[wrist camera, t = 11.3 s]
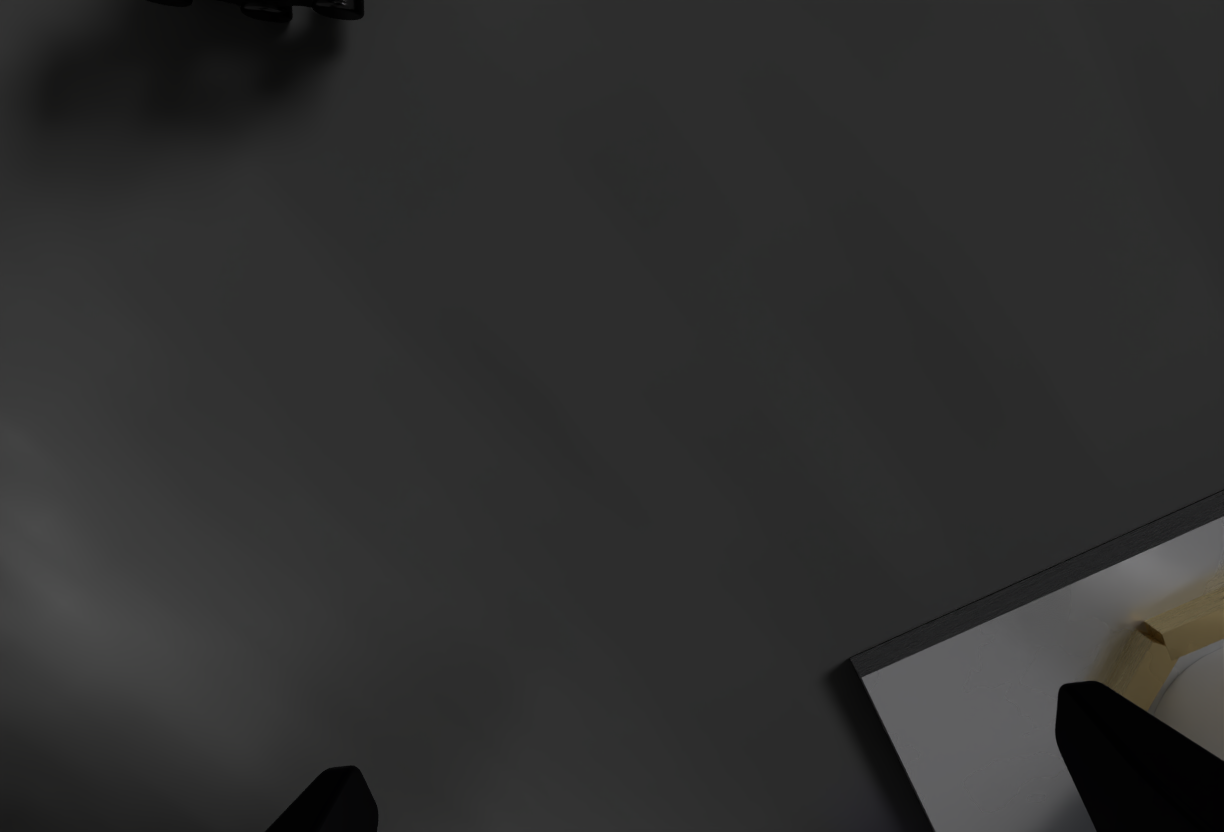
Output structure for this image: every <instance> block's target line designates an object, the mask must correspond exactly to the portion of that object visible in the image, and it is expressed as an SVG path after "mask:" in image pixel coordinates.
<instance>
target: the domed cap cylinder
mask: <svg viewBox="0 0 1224 832" xmlns="http://www.w3.org/2000/svg"><path fill="white" fill-rule="evenodd" d="M1154 716H1155V717H1156V718H1158V719H1159V720H1161V721H1162V722H1164V723H1166V724H1167V725H1169V726H1170V727H1172V728H1173V729H1175V730H1176V731H1178V732H1180V733H1181V734H1183V735H1184V736H1186V737H1187V738H1189V739H1191V740H1192V741H1194V742H1195V743H1197V744H1198V745H1200V746H1201V747H1203V748H1205V749H1206V750H1208V751H1209V752H1211V753H1212V754H1214V755H1216V756H1217V757H1219V758H1220V759H1222V760H1223V761H1224V648H1221V649H1218V650H1216V651H1214V652H1212V653H1210V654H1208V655H1206V656H1204V657H1203V658H1201V659H1200V660H1198V661H1196V662H1195V663H1194V664H1192V665H1191V666H1190V667H1188V668H1187V669H1186V670H1185V671H1183V672H1182V673H1181V674H1180V675H1179V676H1178V677H1177V678H1176V679H1175V680H1174V682H1173V683H1172V684H1171V685H1170V686H1169V687H1168V689H1167V690H1166V692H1165V693H1164V695H1163V696H1162V698H1161V700H1160V702H1159V704H1158V706H1157V708H1156V710H1155V713H1154Z"/></svg>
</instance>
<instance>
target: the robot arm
mask: <svg viewBox="0 0 1224 832" xmlns="http://www.w3.org/2000/svg"><path fill="white" fill-rule="evenodd" d="M1055 737H1056V742H1057V746H1058V749H1059V751H1060V754H1061V756H1062V758H1063V760H1064V762H1065V765H1066V767H1067V769H1068V771H1069V773H1070V775H1071V778H1072V780H1073V782H1074V784H1075V786H1076V788H1077V791H1078V793H1079V795H1080V797H1081V799H1082V801H1083V804H1084V806H1085V808H1086V810H1087V812H1088V814H1089V817H1090V819H1091V821H1092V823H1093V825H1094V827H1095V830H1096V832H1224V761H1223V760H1222V759H1220V758H1219V757H1217V756H1216V755H1214V754H1212V753H1211V752H1209V751H1208V750H1206V749H1205V748H1203V747H1201V746H1200V745H1198V744H1197V743H1195V742H1194V741H1192V740H1191V739H1189V738H1187V737H1186V736H1184V735H1183V734H1181V733H1180V732H1178V731H1176V730H1175V729H1173V728H1172V727H1170V726H1169V725H1167V724H1166V723H1164V722H1162V721H1161V720H1159V719H1158V718H1156V717H1155V716H1153V715H1152V714H1150V713H1148V712H1147V711H1145V710H1144V709H1142V708H1141V707H1139V706H1137V705H1136V704H1134V703H1133V702H1131V701H1130V700H1128V699H1127V698H1125V697H1123V696H1122V695H1120V694H1119V693H1117V692H1116V691H1114V690H1112V689H1111V688H1109V687H1108V686H1106V685H1104V684H1103V683H1100V682H1098V681H1082V682H1073V683H1066V684H1063V685H1062V686H1061V687H1060V688H1059V691H1058V699H1057V711H1056V723H1055ZM377 827H378V809H377V805H376V802H375V800H374V798H373V796H372V794H371V792H370V790H369V788H368V786H367V783H366V781H365V779H364V777H363V775H362V773H361V771H360V770H359V769H358V768H357V767H355V766H342V767H333V768H329V769H326V770H325V771H323V772H322V773H321V774H320V775H319V776H318V777H317V778H316V779H315V780H314V781H313V782H312V783H311V784H310V785H309V786H308V787H307V788H306V789H305V790H304V791H303V792H302V793H301V794H300V795H299V797H298V798H297V799H296V800H295V801H294V802H293V803H292V804H291V805H290V806H289V807H288V808H287V809H286V810H285V811H284V812H283V813H282V814H281V815H280V816H279V817H278V819H277V820H276V821H275V822H274V823H273V824H272V825H271V826H270V827H269V828H268V829H267V830H266V831H265V832H377Z"/></svg>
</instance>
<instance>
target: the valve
mask: <svg viewBox="0 0 1224 832" xmlns="http://www.w3.org/2000/svg"><path fill="white" fill-rule="evenodd" d="M147 1H150V2H153V3H157V4H162V5H168V6H176V7H186V6H190V5H191V4H192V2H193V0H147ZM218 1H224V2H229V3H233V4H236V5H239V6H240V9H241V11H242V13H243V14H245V15H246V16H249V17H251V18H254V19H258V20H262V21H268V22H279V23H284V22H289V21H291V20H292V18H293V14H292V6H306V7H312V9H313V10H314V11H315V12H317V13H318V14H320V15H323V16H326V17H330V18H335V19H341V20H358V19H361V18H362V17H363V16H364V0H218Z"/></svg>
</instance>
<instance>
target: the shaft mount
mask: <svg viewBox="0 0 1224 832" xmlns="http://www.w3.org/2000/svg"><path fill="white" fill-rule="evenodd" d="M1221 648H1224V491H1221V492H1219V493H1217V494H1215V495H1213V496H1210V497H1208V498H1206V499H1204V500H1201V501H1199V502H1197V503H1195V504H1192V505H1190V506H1188V507H1186V508H1184V509H1181V510H1179V511H1177V512H1175V513H1172V514H1170V515H1168V516H1166V517H1164V518H1161V519H1159V520H1157V521H1155V522H1152V523H1150V524H1148V525H1146V526H1143V527H1141V528H1139V529H1137V530H1135V531H1132V532H1130V533H1128V534H1126V535H1123V536H1121V537H1119V538H1117V539H1115V540H1112V541H1110V542H1108V543H1106V544H1103V545H1101V546H1099V547H1097V548H1094V549H1092V550H1090V551H1088V552H1086V553H1083V554H1081V555H1079V556H1077V557H1074V558H1072V559H1070V560H1068V561H1066V562H1063V563H1061V564H1059V565H1057V566H1054V567H1052V568H1050V569H1048V570H1045V571H1043V572H1041V573H1039V574H1037V575H1034V576H1032V577H1030V578H1028V579H1025V580H1023V581H1021V582H1019V583H1017V584H1014V585H1012V586H1010V587H1008V588H1005V589H1003V590H1001V591H999V592H997V593H994V594H992V595H990V596H988V597H985V598H983V599H981V600H979V601H976V602H974V603H972V604H970V605H968V606H965V607H963V608H961V609H959V610H956V611H954V612H952V613H950V614H948V615H945V616H943V617H941V618H939V619H936V620H934V621H932V622H930V623H927V624H925V625H923V626H921V627H919V628H916V629H914V630H912V631H910V632H907V633H905V634H903V635H901V636H899V637H896V638H894V639H892V640H890V641H887V642H885V643H883V644H881V645H878V646H876V647H874V648H872V649H870V650H867V651H865V652H863V653H861V654H858V655H856V656H854V657H852V658H850V659H851V662H852V664H853V666H854V668H855V670H856V672H857V674H858V676H859V678H860V680H861V682H862V684H863V686H864V688H865V691H866V693H867V695H868V697H869V699H870V701H871V703H872V705H873V707H874V709H875V711H876V713H877V715H878V717H879V720H880V722H881V724H882V726H883V728H884V730H885V732H886V734H887V736H888V738H889V740H890V742H891V744H892V747H893V749H894V751H895V753H896V755H897V757H898V759H899V761H900V763H901V765H902V767H903V769H904V771H905V773H906V776H907V778H908V780H909V782H910V784H911V786H912V788H913V790H914V792H915V794H916V796H917V798H918V800H919V802H920V805H921V807H922V809H923V811H924V813H925V815H926V817H927V819H928V821H929V823H930V825H931V827H932V829H933V832H1096V830H1095V827H1094V825H1093V823H1092V821H1091V819H1090V817H1089V814H1088V812H1087V810H1086V808H1085V806H1084V804H1083V801H1082V799H1081V797H1080V795H1079V793H1078V791H1077V788H1076V786H1075V784H1074V782H1073V780H1072V778H1071V775H1070V773H1069V771H1068V769H1067V767H1066V765H1065V762H1064V760H1063V758H1062V756H1061V754H1060V751H1059V749H1058V746H1057V742H1056V737H1055V723H1056V711H1057V699H1058V691H1059V688H1060V687H1061V686H1062V685H1063V684H1066V683H1073V682H1082V681H1098V682H1100V683H1103V684H1104V685H1106V686H1108V687H1109V688H1111V689H1112V690H1114V691H1116V692H1117V693H1119V694H1120V695H1122V696H1123V697H1125V698H1127V699H1128V700H1130V701H1131V702H1133V703H1134V704H1136V705H1137V706H1139V707H1141V708H1142V709H1144V710H1145V711H1147V712H1148V713H1150V714H1152V715H1153V716H1154V713H1155V710H1156V708H1157V706H1158V704H1159V702H1160V700H1161V698H1162V696H1163V695H1164V693H1165V692H1166V690H1167V689H1168V687H1169V686H1170V685H1171V684H1172V683H1173V682H1174V680H1175V679H1176V678H1177V677H1178V676H1179V675H1180V674H1181V673H1182V672H1183V671H1185V670H1186V669H1187V668H1188V667H1190V666H1191V665H1192V664H1194V663H1195V662H1196V661H1198V660H1200V659H1201V658H1203V657H1204V656H1206V655H1208V654H1210V653H1212V652H1214V651H1216V650H1218V649H1221Z"/></svg>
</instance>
